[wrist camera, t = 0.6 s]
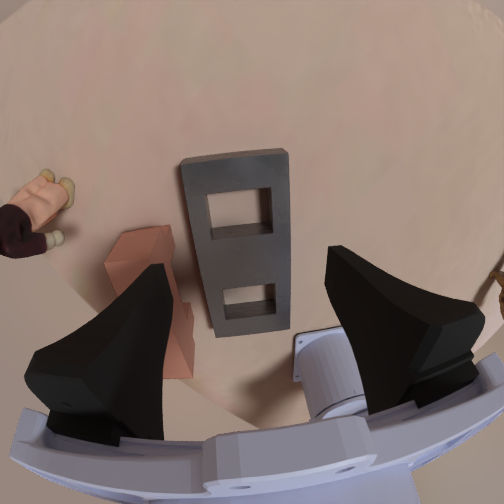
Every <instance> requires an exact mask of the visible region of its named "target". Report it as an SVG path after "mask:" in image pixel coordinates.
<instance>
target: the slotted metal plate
mask: <svg viewBox="0 0 504 504" xmlns="http://www.w3.org/2000/svg"><path fill="white" fill-rule="evenodd" d="M180 166H181V173H182V179H183V185H184V191H185V196H186V202H187V208H188V213H189V218H190V224H191V229H192V234H193V239H194V244H195V249H196V254H197V259H198V263H199V268H200V273H201V277H202V282H203V286H204V291H205V295H206V299H207V304H208V308H209V312H210V316H211V320H212V324H213V328H214V332H215V336H216V338H220V337H231V336H240V335H249V334H257V333H265V332H273V331H280V330H287V329H290V297H291V231H290V183H289V155H288V152H286V151H285V150H284V149H283V148H277V149H263V150H251V151H241V152H231V153H222V154H214V155H206V156H199V157H192V158H185V159H184V160H183V161H182V163H181V164H180ZM256 188H268V205H269V222H262V223H253V224H244V225H235V226H227V227H218V228H212V225H211V218H210V212H209V205H208V198H207V194H212V193H220V192H228V191H237V190H246V189H256ZM271 283H272V287H273V300H265V301H257V302H249V303H240V304H231V305H225V301H224V296H223V290H222V289H229V288H238V287H246V286H255V285H263V284H271Z"/></svg>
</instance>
